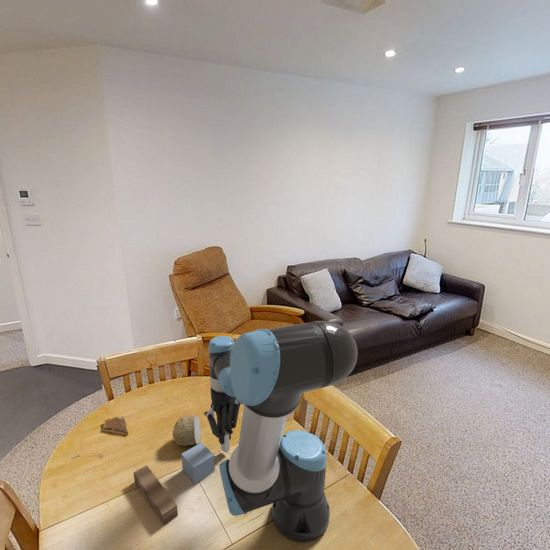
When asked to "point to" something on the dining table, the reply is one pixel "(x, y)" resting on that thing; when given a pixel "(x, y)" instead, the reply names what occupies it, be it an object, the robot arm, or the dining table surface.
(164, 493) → the brown wavy bar
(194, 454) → the block
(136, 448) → the dining table surface
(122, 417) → the shard
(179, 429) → the cut rock
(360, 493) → the dining table surface
